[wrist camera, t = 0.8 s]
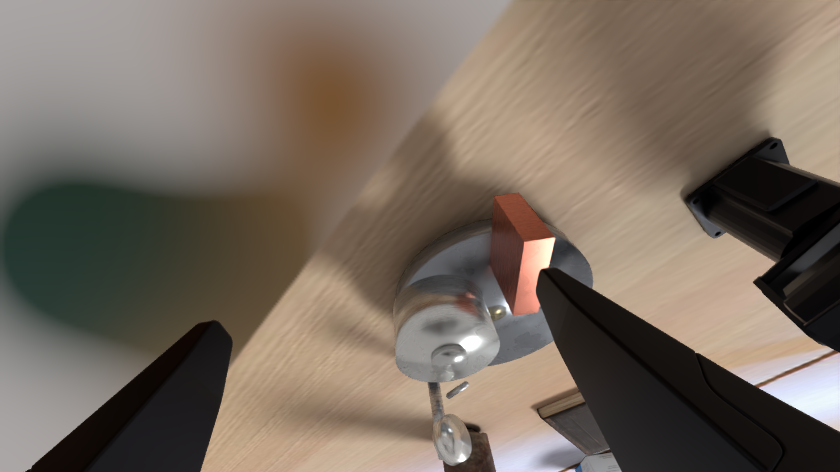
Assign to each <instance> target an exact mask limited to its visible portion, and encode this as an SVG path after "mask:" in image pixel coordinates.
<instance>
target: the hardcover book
mask: <svg viewBox="0 0 840 472" xmlns="http://www.w3.org/2000/svg"><path fill="white" fill-rule="evenodd" d="M537 411H538V414H539V416H540V418H542V419H543V420H544V421H545V422H546V423H548V424H549V425H550V426H551V427H553V428H554V429H555V430H556V431H558V432H559V433H560V434H561V435H563V436H564V437H565V438H566V439H568V440H569V441H570V442H571V443H573V444H574V445H575V446H576V447H578V448H579V449H580V450H581V451H583V452H584V453H585V454H587V455H590V454H593V453H596V452H599V451H602V450H605V449H608V448H609V446H608V444H607V443H606V441H605V439H604V437H603V435H602V433H601V431H600V429H599V427H598V425H597V423H596V421H595V420H594V418H593V416H592V414H591V412H590V410H589V408H588V406H587V404H586V402H585V400H584V398H583V396H582V395H581V393H580V392H579V393H576V394H574V395H571V396H569V397H567V398H564V399H562V400H559V401H557V402H554V403H552V404H549V405H547V406H544V407H542V408H539V409H537Z"/></svg>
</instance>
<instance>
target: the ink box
mask: <svg viewBox="0 0 840 472" xmlns="http://www.w3.org/2000/svg"><path fill="white" fill-rule="evenodd" d="M575 471H576V472H622V471H621V469H620V468H619V466H618V464H617V462H616V460H615V458H614V456H613V454H612V452H611V453H604V454H597V455H591V456H586V457H585V458H584V459H583V461H582V462H581V463H580V465H579V466H578V467H577V468H576V470H575Z"/></svg>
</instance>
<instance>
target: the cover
mask: <svg viewBox="0 0 840 472" xmlns="http://www.w3.org/2000/svg"><path fill="white" fill-rule="evenodd" d="M393 322H394V339H395V356H396V364H397V366H398V368H399V370H400V371H401V372H402V373H403V374H405V375H406V376H408V377H410V378H412V379H415V380H419V381H424V382H447V381H453V380H458V379H461V378H464V377H467V376H470V375H472V374H474V373H476V372H478V371H480V370H481V369H483V368H484V367H486V366H487V365H488V364H489V363H491V362H492V360H493V359H494V358H495V357H496V355H497V353H498V351H499V348H500V341H499V337H498V335H497V332H496V329H495V327H494V324H493V322H492V319H491V316H490V314H489V311H488V309H487V306H486V304H485V301H484V298H483V296H482V293H481V291H480V289H479V288H478V286H477V285H476V284H474V283H473V282H472V281H470V280H468V279H466V278H464V277H461V276H456V275H435V276H430V277H426V278H423V279H420V280H418V281H416V282H414V283H412V284H410V285H409V286H407V287H406V288H405V289H404V290H403V291H402V292H401V293H400V294H399V295H398V297H397V298H396V300H395V302H394V306H393Z"/></svg>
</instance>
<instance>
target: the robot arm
mask: <svg viewBox="0 0 840 472" xmlns="http://www.w3.org/2000/svg"><path fill="white" fill-rule="evenodd" d="M685 202H686V204H687V206H688V207H689V209H690V210H691V211H692V213H693V214H694V216H695V217H696V219H697V220H698V221H699V223H700V224H701V226H702V227H703V229H704V230H705V232H706V233H707V234H708V235H709V236H710V237H712V238H718V237H719V236H721V235H723V234H724V233H726V232H727V233H728V234H730V235H732V236H733V237H735V238H737V239H738V240H740V241H741V242H743V243H745V244H746V245H748V246H750V247H751V248H753V249H755V250H756V251H758V252H760V253H761V254H763V255H764V256H766V257H768V258H769V259H771V260H773V261H774V262H776V264H775V265H774V266H772V267H771V268H770V269H769V270H768V271H767V272H766V273H765V274H763V275H762V276H761V277H760V276H759V277H758V278H757V279H755V280H754V281H753V283H754V284H755V285H756V286H757V287H758V288H759V289H760V290H761V291H762V293H763V294H764V295H765V296H766V297H767V298H768V299H769V300H770V301H771V302H773V303H774V304H775V305H776V306H777V307H778V308H779V309H780V310H781V311H782V312H783V313H784V314H785V315H786V316H787V317H788V318H789V319H790V320H792V321H793V322H794V323H795V324H796V325H797V326H798V327H799V328H800V329H801V330H802V331H803V332H804V333H805V334H806V335H808V336H809V337H810V338H812V339H813V340H814V341H816V342H817V343H819V344H821V345H824V346H828V347H830V348H832V349H834V350H836V351H838V352H840V183H838V182H835V181H832V180H830V179H827V178H824V177H821V176H818V175H816V174H813V173H810V172H807V171H804V170H801V169H799V168H796V167H793V166H790V164H789V161H788V158H787V155H786V152H785V149H784V146H783V143H782V141H781V139H778V138H774V137H771V138H769V139H767V140H765V141H764V142H763V143H761V144H760V145H758V146H757V147H756V148H754V149H753V150H751V151H750V152H749V153H747V154H746V155H745V156H743V157H742V158H740V159H739V160H738V161H736V162H735V163H734V164H732V165H731V166H729V167H728V168H727V169H725V170H724V171H723V172H721V173H720V174H718V175H717V176H716V177H714V178H713V179H711V180H710V181H709V182H707V183H706V184H705V185H703V186H702V187H700V188H699V189H698V190H696V191H695V192H694V193H692V194H691V195H689V196H688V197H687V199H686V201H685ZM536 295H537V298H538V301H539V303H540V306H541V309H542V311H543V314H544V316H545V319H546V321H547V324H548V327H549V329H550V332H551V334H552V337H553V339H554V342H555V344H556V346H557V348H558V350H559V352H560V354H561V356H562V358H563V360H564V362H565V364H566V366H567V368H568V370H569V372H570V373H571V375H572V377H573V379H574V381H575V383H576V385H577V387H578V389H579V391H580V393H581V395H582V396H583V398H584V400H585V402H586V404H587V406H588V408H589V410H590V412H591V414H592V416H593V418H594V420H595V421H596V423H597V425H598V427H599V429H600V431H601V433H602V435H603V437H604V439H605V441H606V443H607V444H608V446H609V448H610V450H611V452H612V454H613V456H614V458H615V460H616V462H617V464H618V466H619V468H620V469H621V471H622V472H840V432H839V431H837V430H835V429H833V428H832V427H830V426H828V425H826V424H824V423H822V422H820V421H818V420H817V419H815V418H813V417H811V416H809V415H807V414H805V413H803V412H802V411H800V410H798V409H796V408H794V407H792V406H790V405H788V404H787V403H785V402H783V401H781V400H779V399H777V398H776V397H774V396H772V395H770V394H768V393H766V392H765V391H763V390H761V389H759V388H757V387H756V386H754V385H752V384H750V383H748V382H747V381H745V380H743V379H741V378H740V377H738V376H736V375H735V374H733V373H731V372H729V371H728V370H726V369H724V368H723V367H721V366H719V365H717V364H716V363H714V362H712V361H711V360H709V359H707V358H706V357H704V356H703V355H701V354H699V353H695V351H694V350H692V349H691V348H689V347H687V346H686V345H684V344H682V343H681V342H679V341H677V340H676V339H674V338H673V337H671V336H669V335H668V334H666V333H664V332H663V331H661V330H659V329H658V328H656V327H654V326H653V325H651V324H649V323H648V322H646V321H644V320H643V319H641V318H639V317H638V316H636V315H634V314H633V313H631V312H629V311H628V310H626V309H625V308H623V307H621V306H620V305H618V304H616V303H615V302H613V301H611V300H610V299H608V298H606V297H605V296H603V295H601V294H600V293H598V292H596V291H595V290H593V289H591V288H590V287H588V286H586V285H585V284H583V283H581V282H580V281H578V280H577V279H575V278H573V277H572V276H570V275H568V274H567V273H565V272H563V271H562V270H560V269H558V268H556V267H549V268H543V269H541V270H540V271H539V275H538V280H537V284H536ZM232 343H233V342H232V338H231V336H230V335H229V334H228V332H227V331H226V330H225V328H224V327H223V326H222V325H221V323H220V322H219V321H216V320H211V321H204V322H200V323H198V324H197V325H195V326H194V327H193V328H192V329H191V330H190V331H188V332H187V333H186V334H185V335H184V336H183V337H181V338H180V339H179V340H178V341H177V342H176V343H175V344H173V345H172V346H171V347H170V348H169V349H168V350H166V351H165V352H164V353H163V354H162V355H161V356H159V357H158V358H157V359H156V360H155V361H154V362H152V363H151V364H150V365H149V366H148V367H147V368H145V369H144V370H143V371H142V372H141V373H140V374H138V375H137V376H136V377H135V378H134V379H133V380H131V381H130V382H129V383H128V384H127V385H126V386H125V387H123V388H122V389H121V390H120V391H119V392H118V393H117V394H115V395H114V396H113V397H112V398H111V399H109V400H108V401H107V402H106V403H105V404H104V405H102V406H101V407H100V408H99V409H98V410H97V411H95V412H94V413H93V414H92V415H91V416H90V417H88V418H87V419H86V420H85V421H84V422H83V423H81V424H80V425H79V426H78V427H77V428H76V429H75V430H73V431H72V432H71V433H70V434H69V435H67V436H66V437H65V438H64V439H63V440H62V441H60V442H59V443H58V444H57V445H56V446H55V447H53V449H52V450H50V451H49V452H48V453H47V454H45V455H44V456H43V457H42V458H41V459H40V460H38V461H37V462H36V463H35V464H34V465H33V466H32V468H31V469H29V470H27V471H25V472H200V471H201V468H202V464H203V461H204V458H205V455H206V451H207V448H208V445H209V441H210V438H211V435H212V432H213V428H214V425H215V422H216V418H217V415H218V412H219V408H220V405H221V401H222V397H223V392H224V387H225V382H226V377H227V372H228V366H229V361H230V356H231V351H232Z"/></svg>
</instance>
